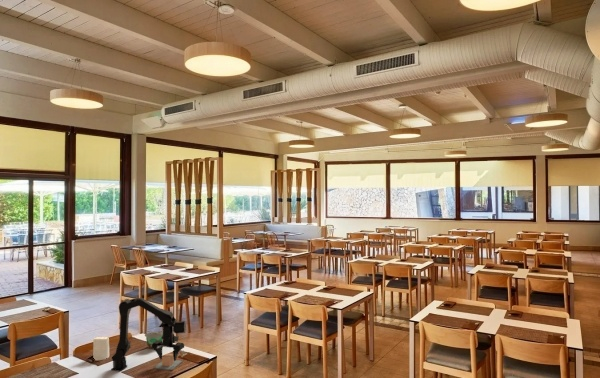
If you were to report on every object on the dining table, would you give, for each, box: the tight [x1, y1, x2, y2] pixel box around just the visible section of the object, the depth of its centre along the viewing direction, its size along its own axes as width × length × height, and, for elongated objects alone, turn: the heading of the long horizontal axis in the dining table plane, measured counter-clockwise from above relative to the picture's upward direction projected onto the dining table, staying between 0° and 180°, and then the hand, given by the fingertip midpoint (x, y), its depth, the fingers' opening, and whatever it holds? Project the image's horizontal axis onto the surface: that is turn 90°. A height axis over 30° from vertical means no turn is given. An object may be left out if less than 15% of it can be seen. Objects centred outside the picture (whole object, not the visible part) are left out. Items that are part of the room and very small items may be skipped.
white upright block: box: [92, 336, 110, 361], centre depth 254 cm, size 9×9×12 cm
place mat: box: [153, 359, 184, 371], centre depth 241 cm, size 12×12×1 cm
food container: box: [144, 330, 163, 350], centre depth 268 cm, size 12×6×10 cm, turn 112°
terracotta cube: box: [161, 353, 174, 366], centre depth 241 cm, size 5×5×5 cm
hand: (168, 359), depth 241 cm, fingers open, 9 cm apart
